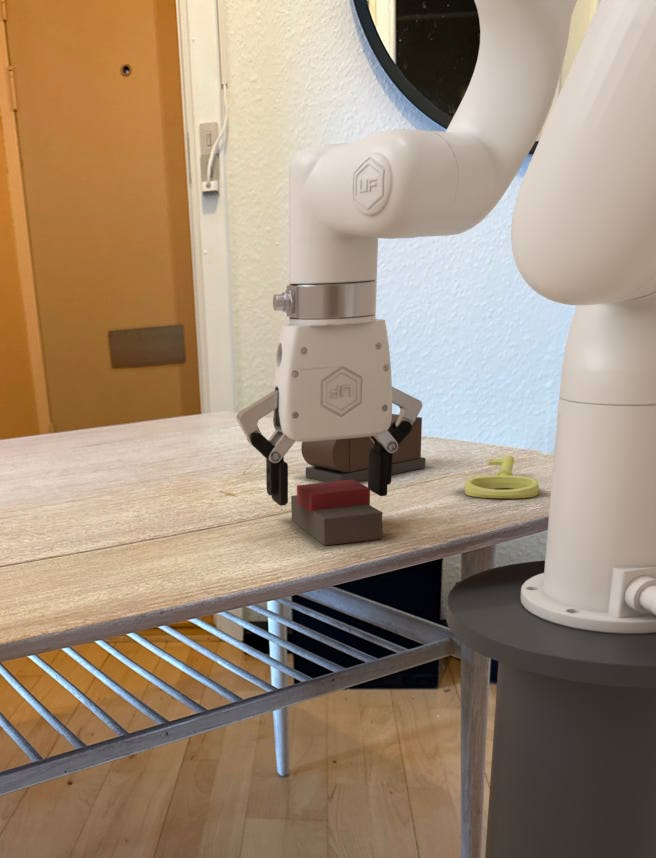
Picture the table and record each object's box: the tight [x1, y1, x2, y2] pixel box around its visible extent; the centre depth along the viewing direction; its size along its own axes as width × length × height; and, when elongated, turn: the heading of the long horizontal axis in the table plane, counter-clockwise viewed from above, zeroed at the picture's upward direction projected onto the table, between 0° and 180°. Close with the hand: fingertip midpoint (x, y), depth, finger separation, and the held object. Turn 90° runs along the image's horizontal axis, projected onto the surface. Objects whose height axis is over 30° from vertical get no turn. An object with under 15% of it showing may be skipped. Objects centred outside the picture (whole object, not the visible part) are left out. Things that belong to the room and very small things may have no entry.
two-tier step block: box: [290, 480, 383, 546], centre depth 86 cm, size 10×6×4 cm, turn 10°
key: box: [464, 455, 540, 499], centre depth 99 cm, size 7×12×2 cm, turn 176°
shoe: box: [300, 413, 426, 483], centre depth 109 cm, size 14×7×6 cm, turn 120°
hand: (328, 497), depth 87 cm, fingers open, 9 cm apart
